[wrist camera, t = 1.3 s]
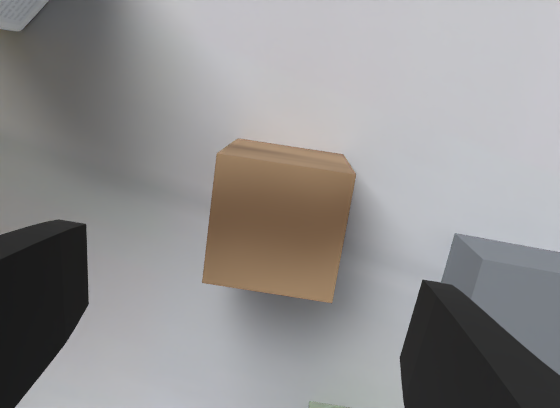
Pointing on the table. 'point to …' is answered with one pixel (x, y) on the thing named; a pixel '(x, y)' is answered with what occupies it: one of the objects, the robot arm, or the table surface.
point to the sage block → (323, 405)
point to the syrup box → (18, 13)
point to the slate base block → (512, 289)
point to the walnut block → (278, 219)
